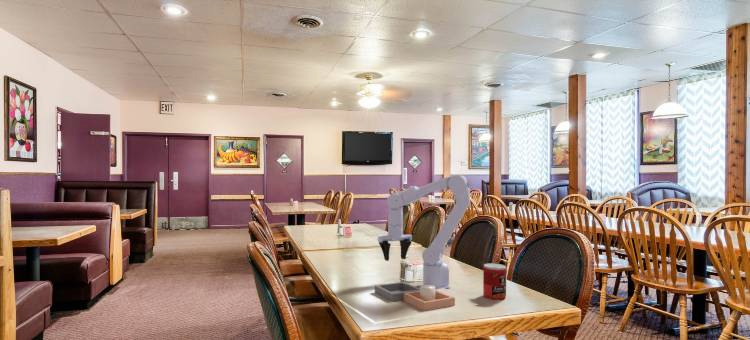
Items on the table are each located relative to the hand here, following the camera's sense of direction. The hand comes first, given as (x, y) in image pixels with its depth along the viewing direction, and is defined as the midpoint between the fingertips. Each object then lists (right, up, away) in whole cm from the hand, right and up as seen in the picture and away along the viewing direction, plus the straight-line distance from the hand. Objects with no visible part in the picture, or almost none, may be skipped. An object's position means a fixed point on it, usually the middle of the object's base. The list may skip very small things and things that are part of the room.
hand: (395, 259), depth 165 cm
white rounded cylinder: (+10, -9, -26) cm, 29 cm away
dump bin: (+10, -9, -26) cm, 29 cm away
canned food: (+34, -10, -16) cm, 39 cm away
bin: (0, -9, -17) cm, 19 cm away
